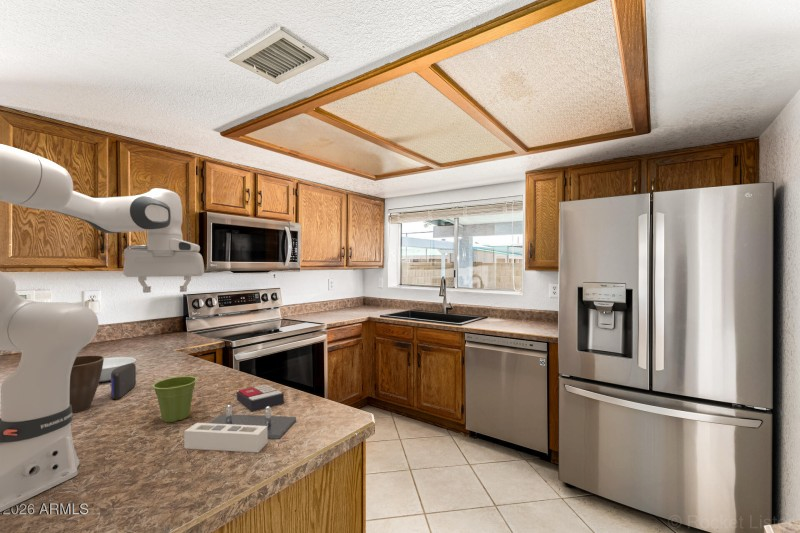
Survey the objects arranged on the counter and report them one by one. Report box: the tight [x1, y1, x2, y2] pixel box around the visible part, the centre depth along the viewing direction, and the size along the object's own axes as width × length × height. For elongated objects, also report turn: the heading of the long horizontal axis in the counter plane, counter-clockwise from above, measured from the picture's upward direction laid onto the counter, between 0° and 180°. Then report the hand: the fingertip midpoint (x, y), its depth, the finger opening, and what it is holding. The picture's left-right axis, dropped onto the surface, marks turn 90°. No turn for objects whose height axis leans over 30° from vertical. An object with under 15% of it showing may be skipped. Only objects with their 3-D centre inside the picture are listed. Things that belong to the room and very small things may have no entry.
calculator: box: [236, 384, 285, 412], centre depth 128 cm, size 11×4×15 cm
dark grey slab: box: [109, 363, 137, 400], centre depth 137 cm, size 16×5×9 cm, turn 18°
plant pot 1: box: [70, 355, 105, 414], centre depth 121 cm, size 15×15×16 cm
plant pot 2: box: [151, 375, 198, 423], centre depth 114 cm, size 12×12×11 cm
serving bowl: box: [99, 356, 137, 383], centre depth 154 cm, size 21×21×7 cm
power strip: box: [183, 422, 269, 453], centre depth 96 cm, size 5×20×5 cm, turn 84°
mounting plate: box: [208, 404, 297, 440], centre depth 107 cm, size 12×24×6 cm, turn 84°
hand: (165, 292), depth 109 cm, fingers open, 8 cm apart
